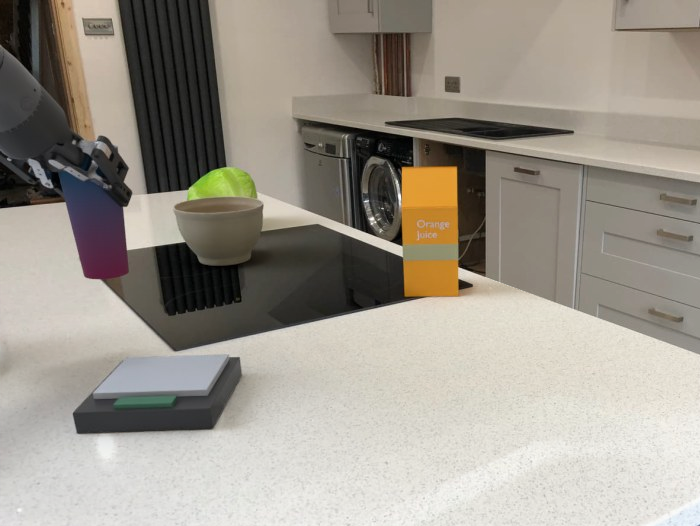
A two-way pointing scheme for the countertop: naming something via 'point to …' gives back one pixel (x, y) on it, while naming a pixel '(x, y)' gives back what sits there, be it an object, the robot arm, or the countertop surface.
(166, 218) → the countertop surface
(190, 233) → the planter bowl
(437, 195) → the orange juice
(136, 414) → the scale
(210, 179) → the lettuce
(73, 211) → the cup
